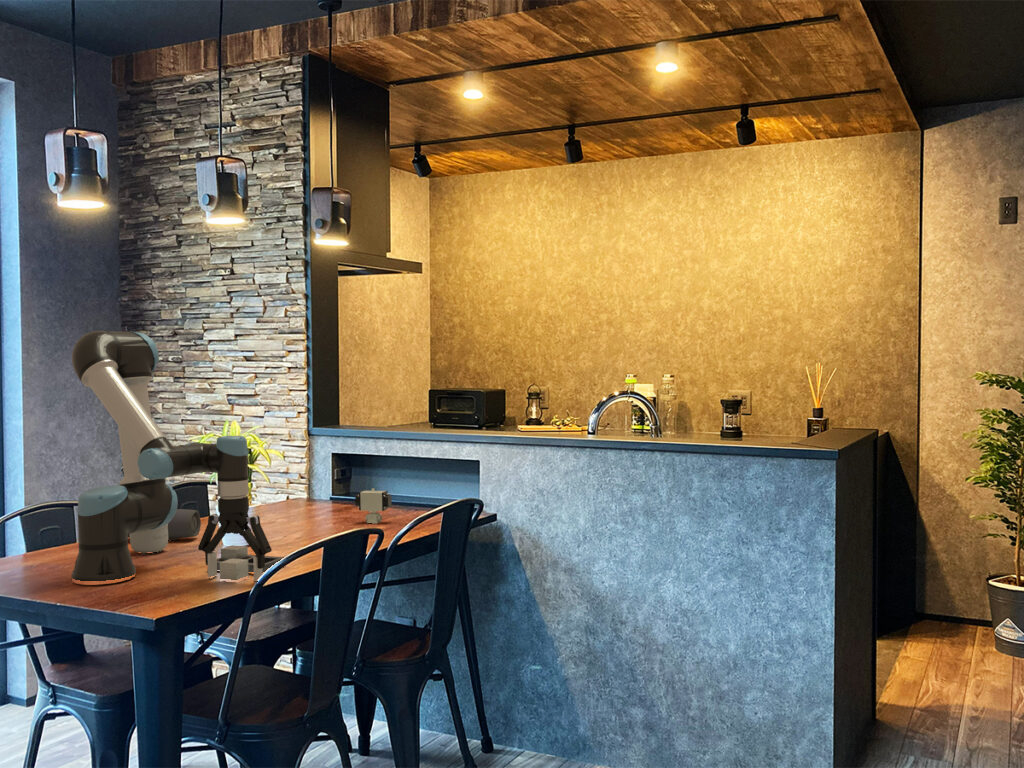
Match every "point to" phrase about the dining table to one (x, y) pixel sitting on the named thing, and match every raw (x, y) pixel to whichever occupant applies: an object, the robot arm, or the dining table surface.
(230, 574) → the beige cube
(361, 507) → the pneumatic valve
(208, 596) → the dining table surface
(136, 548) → the teacup
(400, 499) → the dining table surface
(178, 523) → the bluetooth speaker
